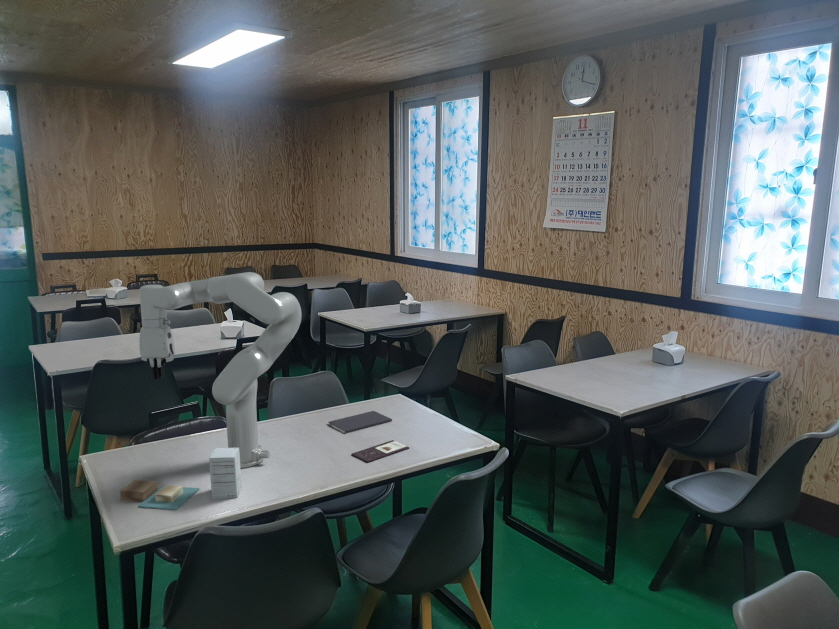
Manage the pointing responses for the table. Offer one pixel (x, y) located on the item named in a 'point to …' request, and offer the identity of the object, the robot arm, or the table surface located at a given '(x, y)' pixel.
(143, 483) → the walnut block
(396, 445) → the chocolate bar
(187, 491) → the rubber mat
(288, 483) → the table surface
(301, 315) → the robot arm
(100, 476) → the table surface
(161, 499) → the birch block
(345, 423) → the notebook
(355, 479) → the table surface
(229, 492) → the supplement box
